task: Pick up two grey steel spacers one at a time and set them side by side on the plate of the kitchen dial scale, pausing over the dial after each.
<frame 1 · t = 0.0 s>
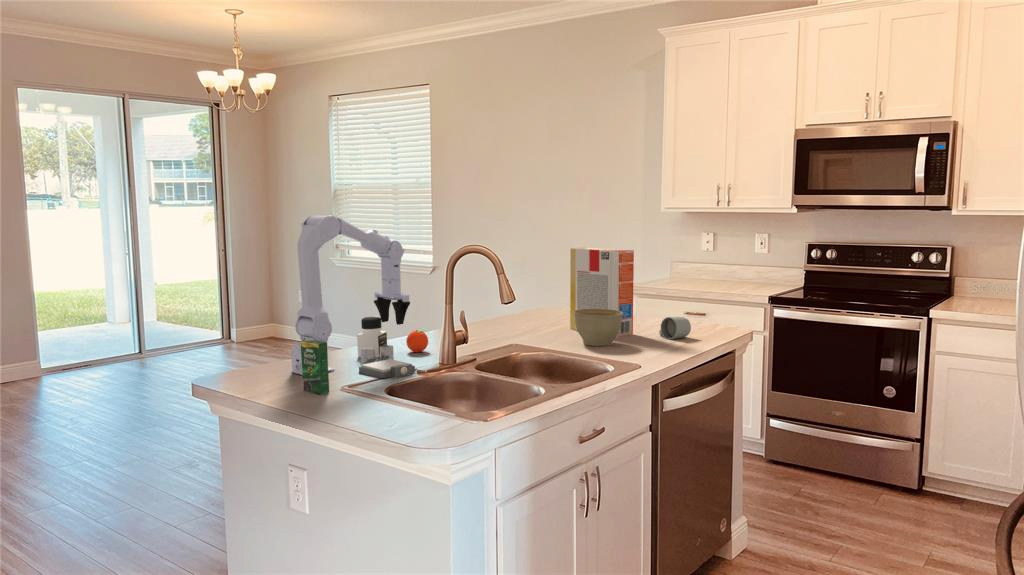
hand: (392, 323, 230), 10 cm above the worktop, fingers open, 7 cm apart
ceramic mug: (672, 338, 258), on the worktop
planter bowl: (598, 344, 247), on the worktop
green cardboard box: (315, 392, 188), on the worktop
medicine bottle: (372, 355, 232), on the worktop, touching gripper
spacer b: (368, 366, 217), on the worktop
spacer a: (386, 363, 221), on the worktop
cereal box: (600, 332, 271), on the worktop
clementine: (419, 352, 237), on the worktop
scale: (387, 372, 209), on the worktop
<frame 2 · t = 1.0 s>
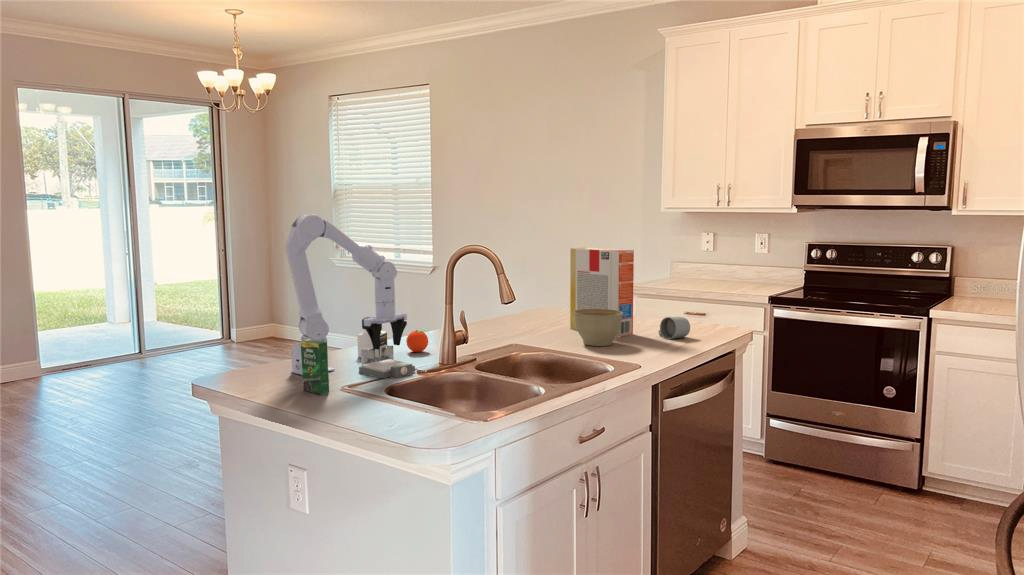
hand: (386, 346, 220), 5 cm above the worktop, fingers open, 7 cm apart
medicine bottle: (372, 356, 232), on the worktop
spacer b: (368, 366, 217), on the worktop, touching gripper
everything else where it was.
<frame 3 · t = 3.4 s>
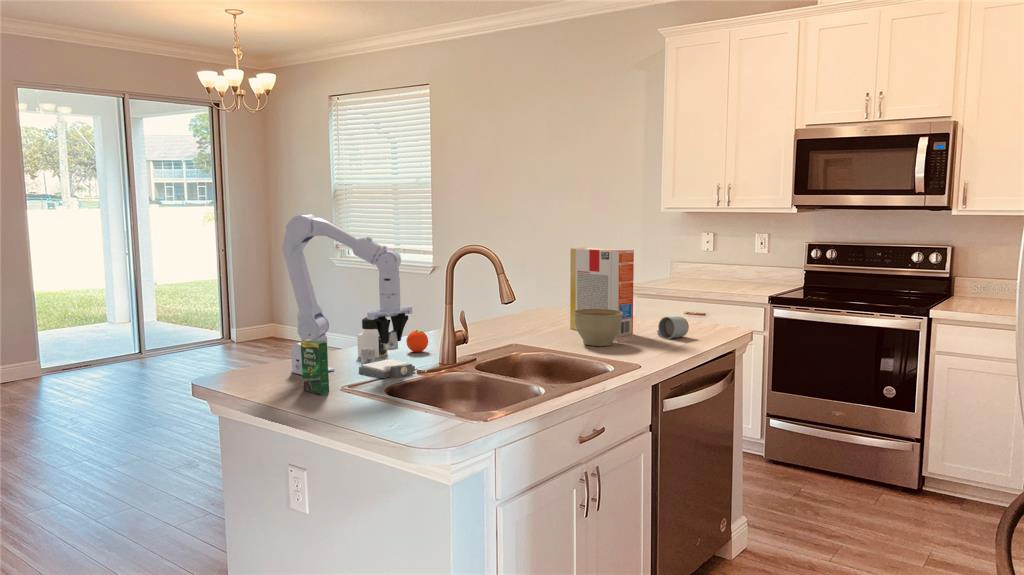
hand: (391, 342, 208), 8 cm above the worktop, fingers closed on spacer a, 4 cm apart
spacer b: (368, 366, 217), on the worktop
spacer a: (390, 348, 209), point 7 cm above the worktop, touching gripper
when the fingers open (5 cm above the worktop, at t = 4.7 s): spacer a stays where it is, resting on scale.
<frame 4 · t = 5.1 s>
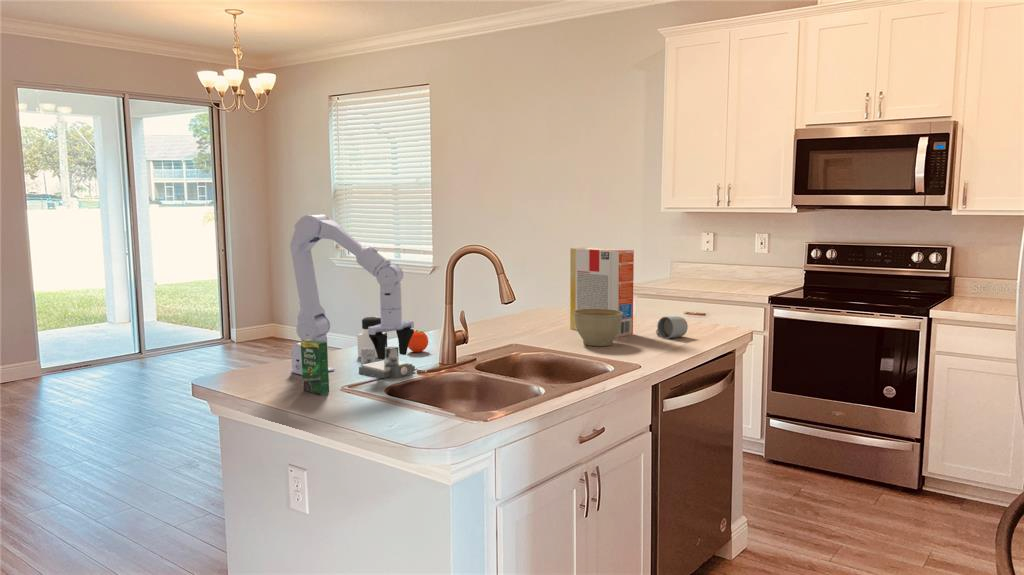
hand: (392, 356, 207), 5 cm above the worktop, fingers open, 7 cm apart
spacer a: (391, 365, 207), point 2 cm above the worktop, touching scale
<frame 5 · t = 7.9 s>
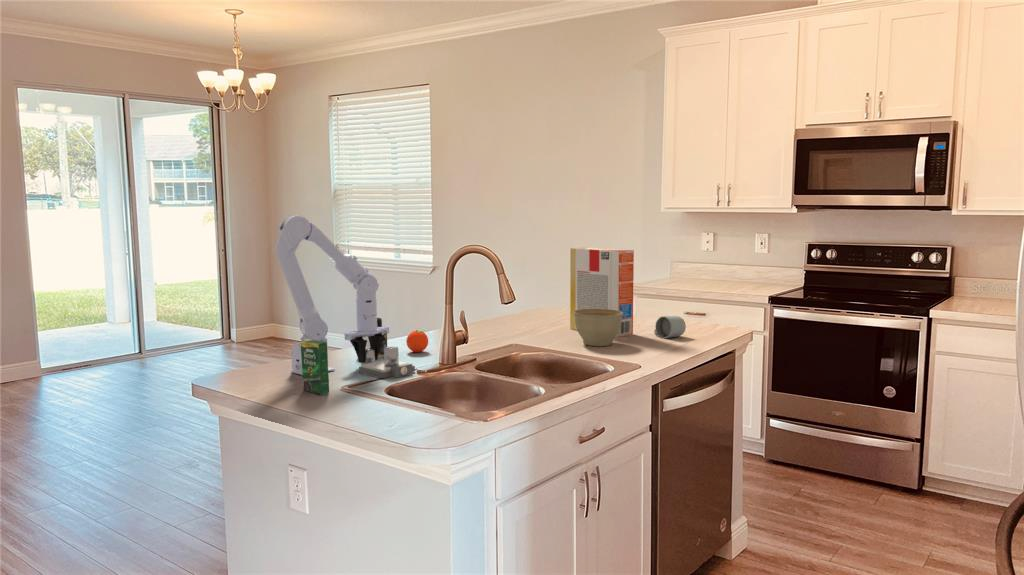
hand: (368, 361, 217), 1 cm above the worktop, fingers closed on spacer b, 4 cm apart
spacer b: (368, 365, 217), on the worktop, touching gripper
when the fingers open (5 cm above the worktop, at t = 10.3 s): spacer b stays where it is, resting on scale.
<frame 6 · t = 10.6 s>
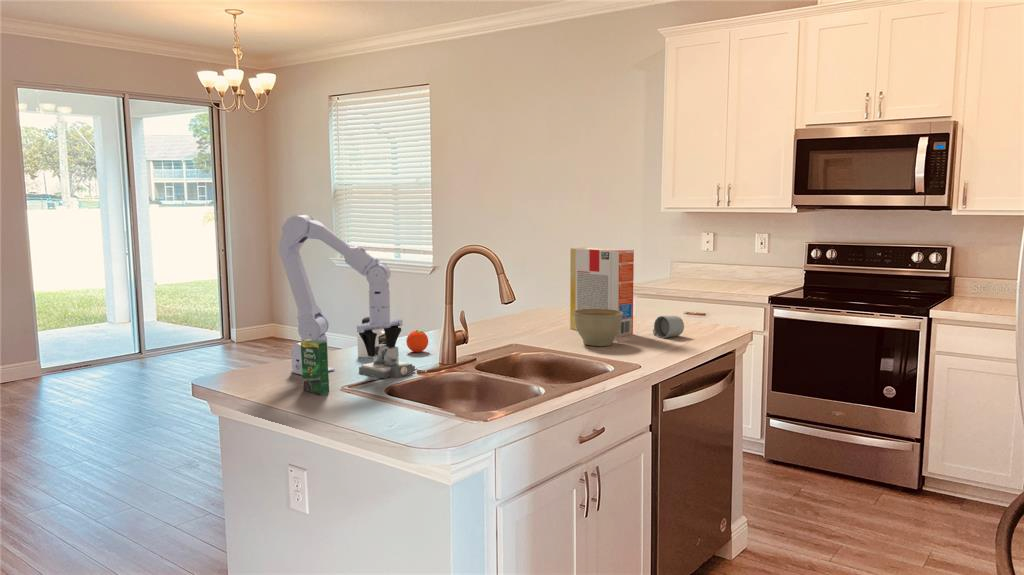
hand: (381, 354, 210), 5 cm above the worktop, fingers open, 6 cm apart
spacer b: (380, 363, 210), point 2 cm above the worktop, touching scale
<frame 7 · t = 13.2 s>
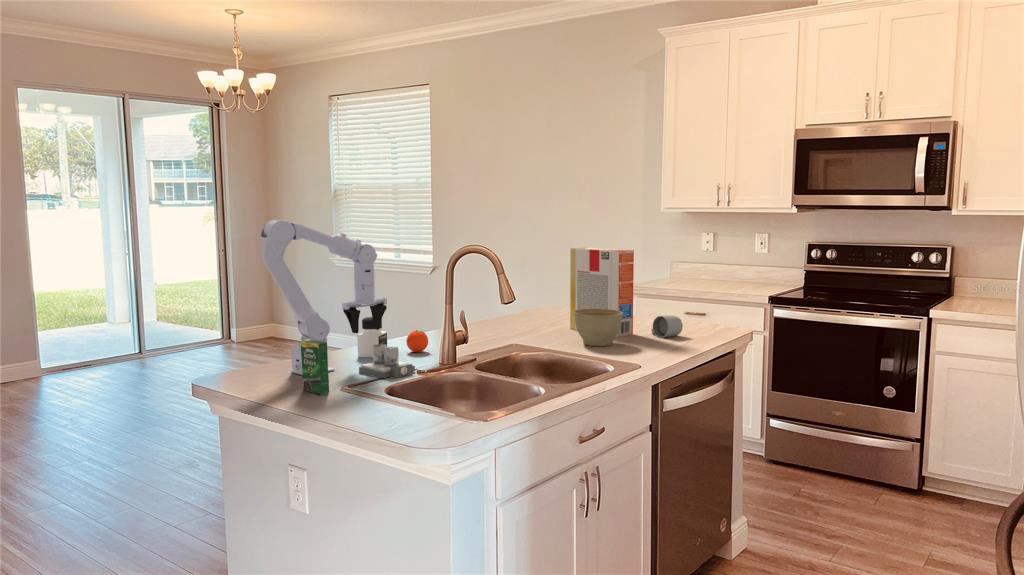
hand: (365, 331, 218), 10 cm above the worktop, fingers open, 7 cm apart
at the end: spacer a inside the target area on the scale (2.2 cm from its centre), point 2.2 cm above the scale's base; spacer b inside the target area on the scale (2.8 cm from its centre), point 2.2 cm above the scale's base; spacer b tilted 0° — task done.
